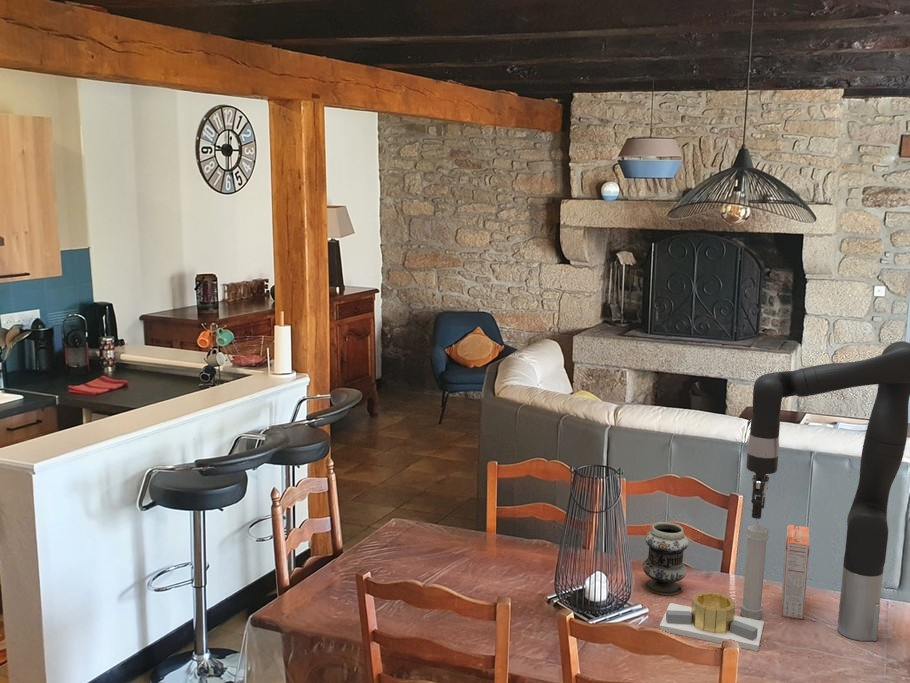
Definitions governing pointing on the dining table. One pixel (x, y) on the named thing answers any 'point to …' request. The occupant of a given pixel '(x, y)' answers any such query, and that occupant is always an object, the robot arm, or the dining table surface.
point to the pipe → (754, 571)
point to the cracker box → (795, 572)
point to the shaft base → (740, 631)
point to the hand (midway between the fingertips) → (758, 512)
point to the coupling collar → (712, 612)
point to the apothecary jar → (665, 558)
